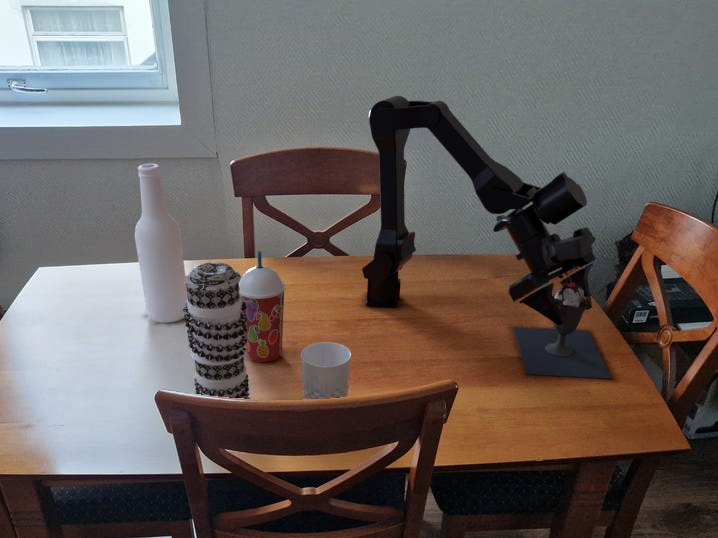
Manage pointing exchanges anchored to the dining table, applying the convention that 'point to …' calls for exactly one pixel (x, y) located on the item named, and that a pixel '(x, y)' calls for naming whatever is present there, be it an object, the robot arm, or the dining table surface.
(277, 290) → the smoothie
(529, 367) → the dark blue rectangular panel
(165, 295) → the alcohol
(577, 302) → the sundae
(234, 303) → the decorative candle
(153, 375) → the dining table surface
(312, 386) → the white cup
